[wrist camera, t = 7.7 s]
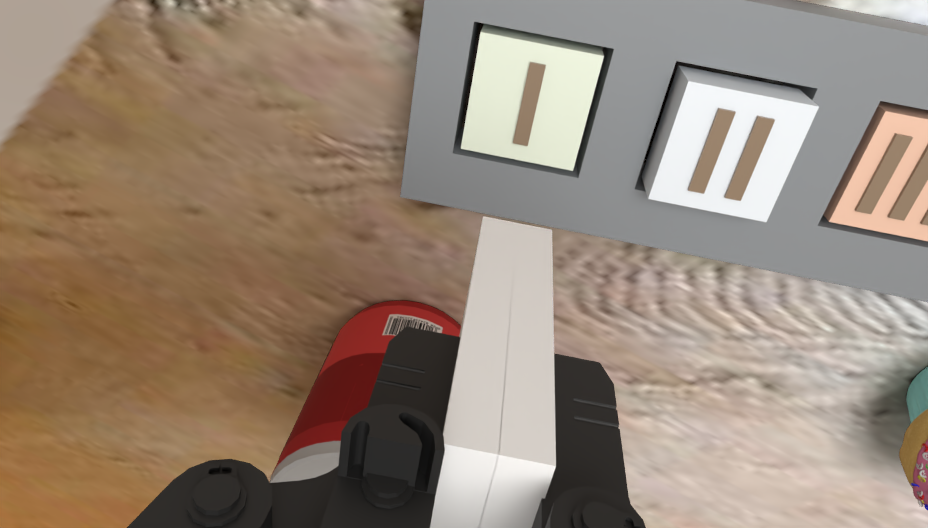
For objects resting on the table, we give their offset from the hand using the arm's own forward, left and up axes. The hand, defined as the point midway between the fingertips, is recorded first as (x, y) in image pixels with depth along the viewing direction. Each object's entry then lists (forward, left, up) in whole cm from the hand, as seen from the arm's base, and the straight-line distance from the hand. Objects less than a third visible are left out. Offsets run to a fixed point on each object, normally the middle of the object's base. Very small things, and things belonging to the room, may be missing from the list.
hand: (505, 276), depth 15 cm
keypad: (+8, 0, -16) cm, 18 cm away
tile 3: (+15, 0, -15) cm, 21 cm away
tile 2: (+8, 0, -14) cm, 16 cm away
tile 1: (0, 0, -15) cm, 15 cm away
